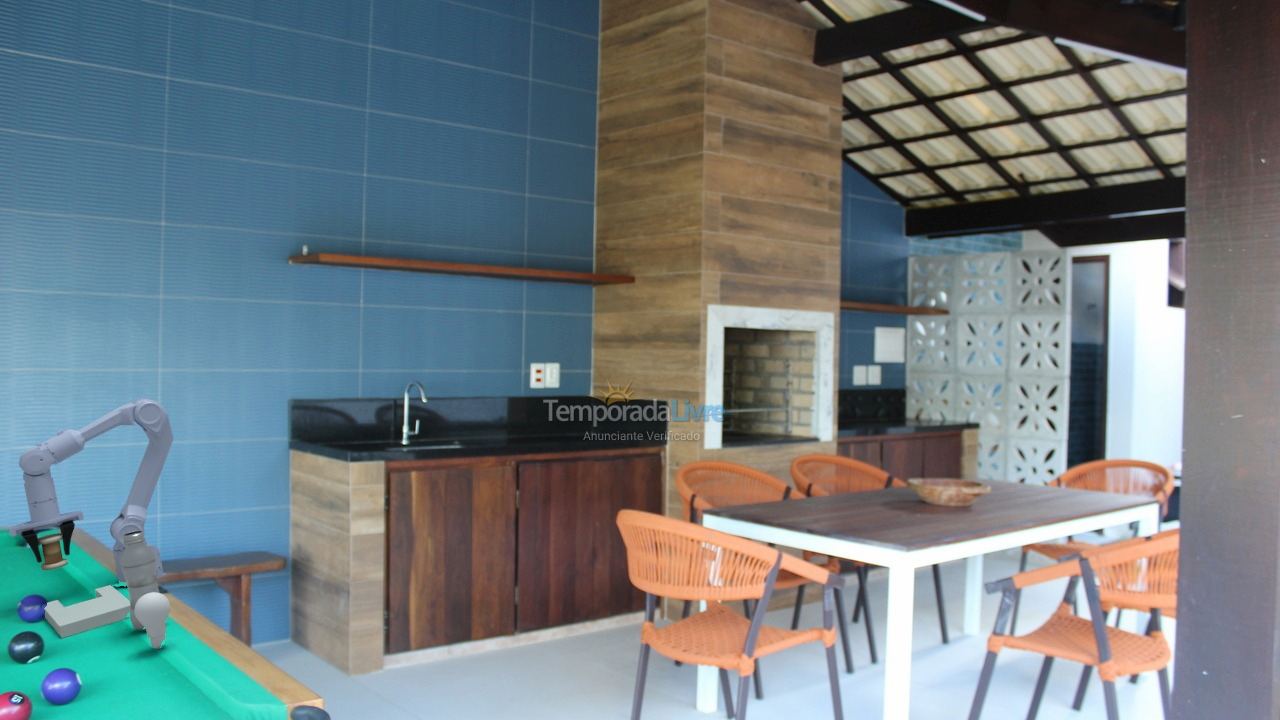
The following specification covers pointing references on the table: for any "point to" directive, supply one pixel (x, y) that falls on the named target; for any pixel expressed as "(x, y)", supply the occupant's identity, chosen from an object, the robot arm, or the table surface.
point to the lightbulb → (153, 616)
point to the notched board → (88, 612)
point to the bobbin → (52, 551)
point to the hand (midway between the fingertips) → (53, 558)
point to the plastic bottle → (138, 570)
